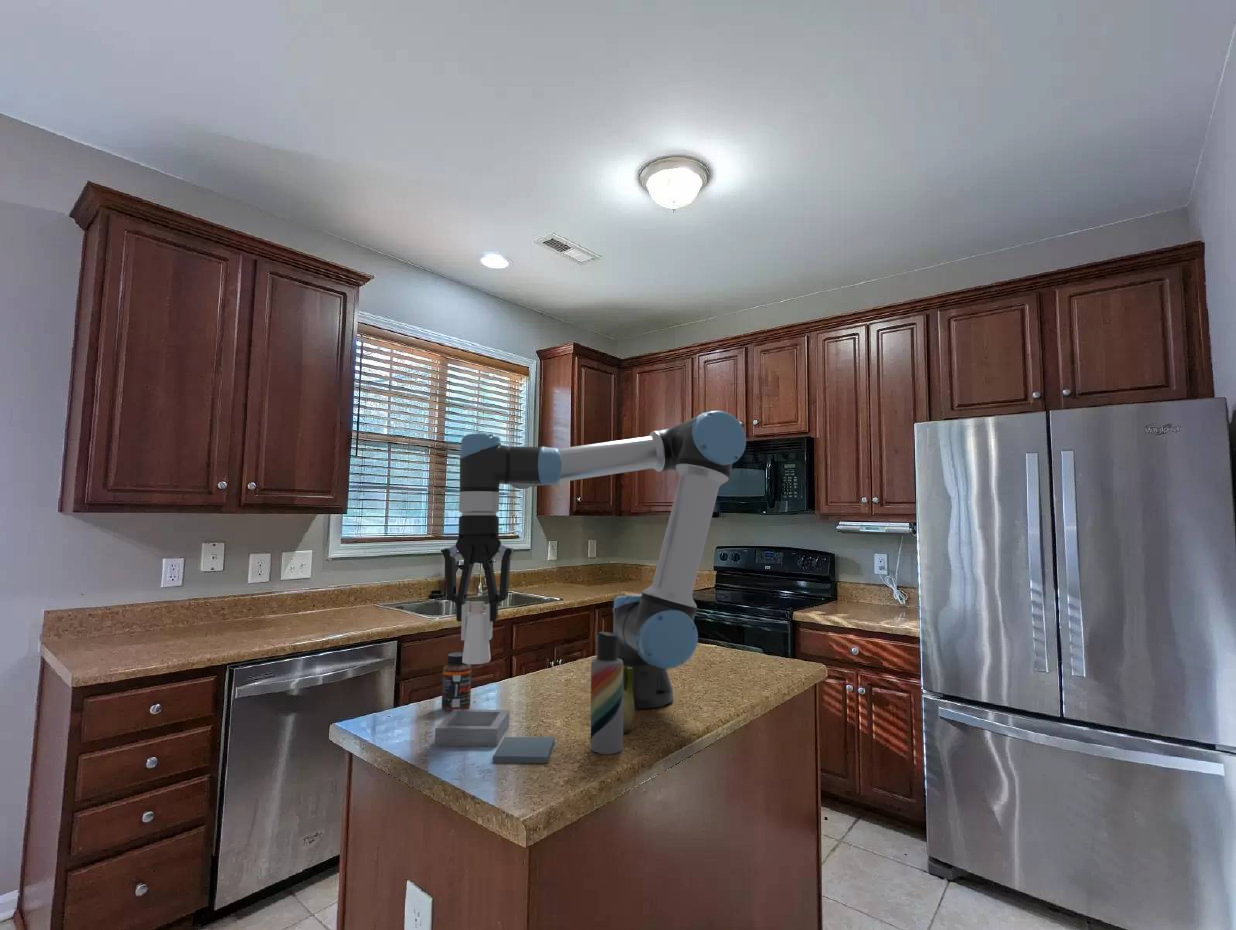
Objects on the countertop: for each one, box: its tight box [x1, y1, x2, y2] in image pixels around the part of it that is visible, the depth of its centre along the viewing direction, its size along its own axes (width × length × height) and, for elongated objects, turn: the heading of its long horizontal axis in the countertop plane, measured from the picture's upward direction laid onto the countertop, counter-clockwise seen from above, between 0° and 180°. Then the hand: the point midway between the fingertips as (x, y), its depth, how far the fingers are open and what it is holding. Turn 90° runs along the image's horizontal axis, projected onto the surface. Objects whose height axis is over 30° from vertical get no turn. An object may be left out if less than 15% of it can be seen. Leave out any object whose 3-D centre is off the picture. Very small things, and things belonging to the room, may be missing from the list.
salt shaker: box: [462, 600, 492, 665], centre depth 114 cm, size 5×5×11 cm
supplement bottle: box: [441, 651, 472, 713], centre depth 129 cm, size 6×6×11 cm
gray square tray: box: [434, 708, 510, 748], centre depth 112 cm, size 11×11×3 cm
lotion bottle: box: [590, 631, 624, 755], centre depth 106 cm, size 6×6×20 cm
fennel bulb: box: [623, 666, 636, 735], centre depth 115 cm, size 6×5×12 cm
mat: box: [492, 736, 555, 764], centre depth 104 cm, size 9×9×1 cm
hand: (476, 638), depth 114 cm, fingers closed on salt shaker, 4 cm apart
